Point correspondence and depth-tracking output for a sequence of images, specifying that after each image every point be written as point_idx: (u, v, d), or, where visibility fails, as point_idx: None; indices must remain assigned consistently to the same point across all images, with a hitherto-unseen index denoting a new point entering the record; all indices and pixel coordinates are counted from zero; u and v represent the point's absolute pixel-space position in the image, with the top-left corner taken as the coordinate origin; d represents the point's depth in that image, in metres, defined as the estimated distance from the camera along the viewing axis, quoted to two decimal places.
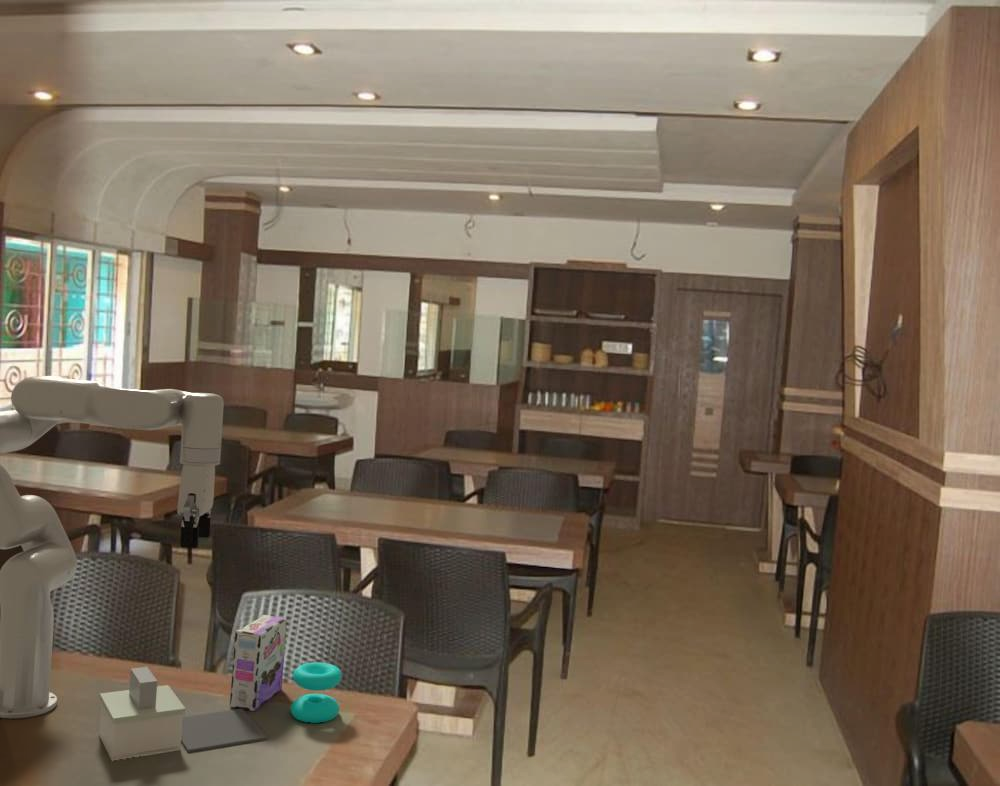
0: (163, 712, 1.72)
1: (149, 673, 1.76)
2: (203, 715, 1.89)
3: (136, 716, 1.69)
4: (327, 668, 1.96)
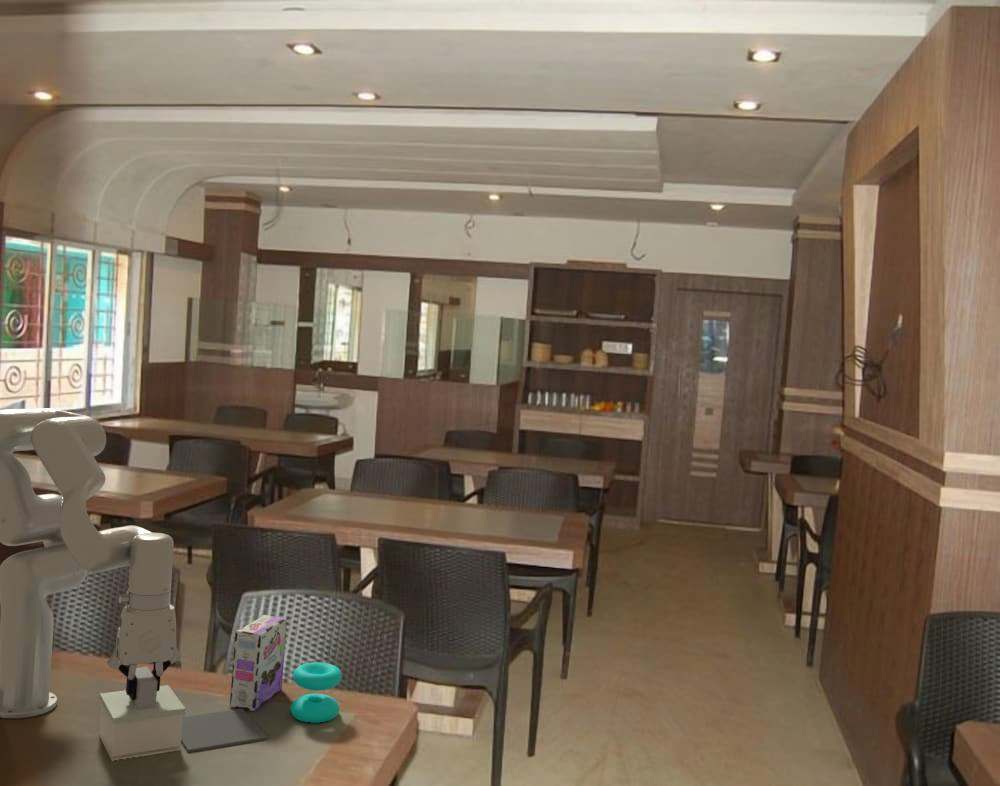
0: (163, 712, 1.72)
1: (149, 673, 1.76)
2: (203, 715, 1.89)
3: (136, 716, 1.69)
4: (327, 668, 1.96)
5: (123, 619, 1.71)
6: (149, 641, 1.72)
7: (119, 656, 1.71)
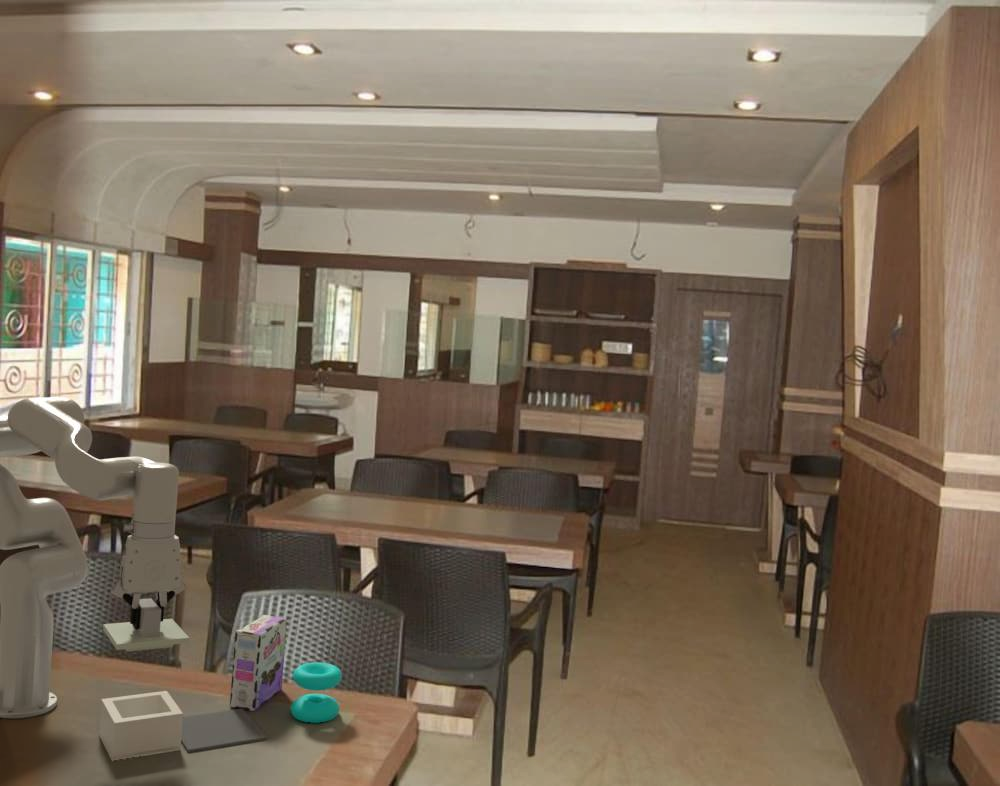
0: (167, 640, 1.71)
1: (153, 603, 1.76)
2: (203, 715, 1.89)
3: (140, 643, 1.68)
4: (327, 668, 1.96)
5: (127, 547, 1.70)
6: (153, 570, 1.72)
7: (123, 584, 1.70)
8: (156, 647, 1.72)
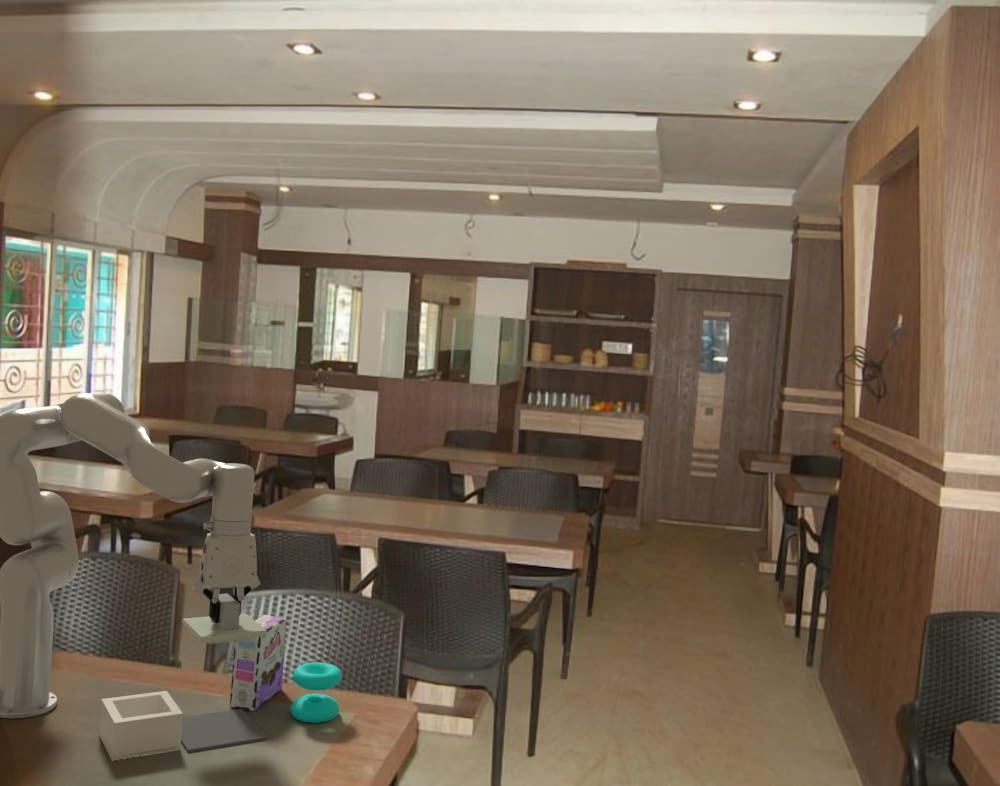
0: (246, 633, 1.79)
1: (230, 598, 1.84)
2: (203, 715, 1.89)
3: (222, 636, 1.76)
4: (327, 668, 1.96)
5: (208, 544, 1.78)
6: (232, 566, 1.80)
7: (204, 579, 1.78)
8: (235, 640, 1.80)
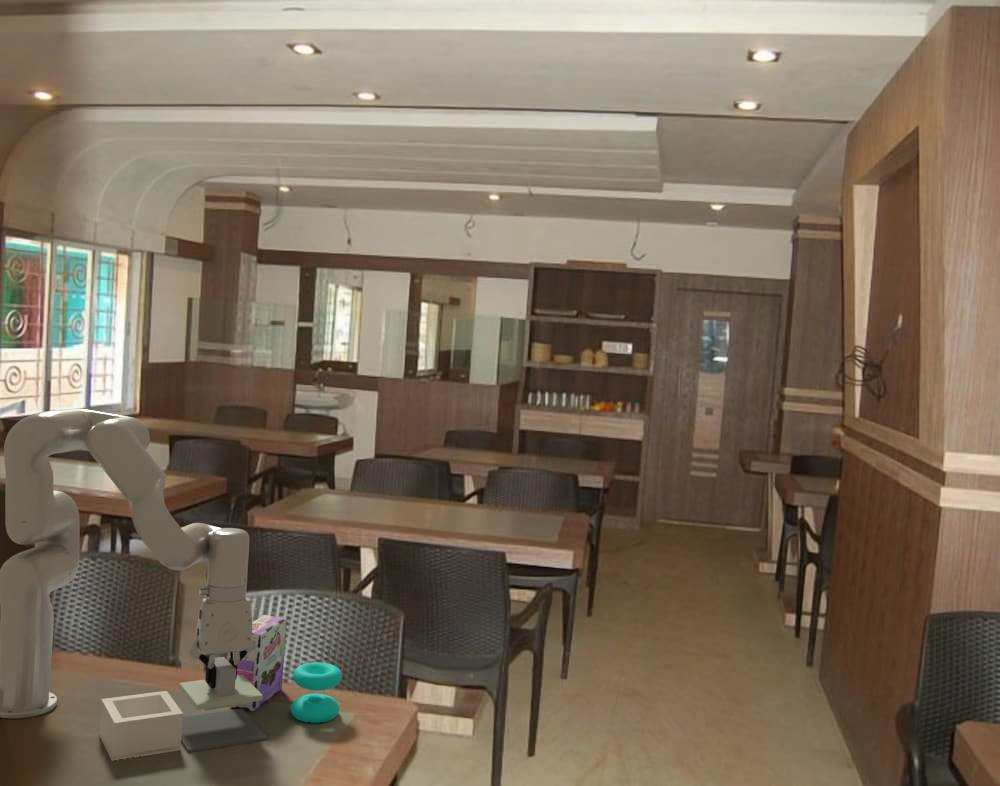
0: (242, 699, 1.79)
1: (226, 662, 1.84)
2: (203, 715, 1.89)
3: (218, 702, 1.77)
4: (327, 668, 1.96)
5: (203, 610, 1.79)
6: (227, 632, 1.80)
7: (200, 646, 1.79)
8: (232, 705, 1.81)
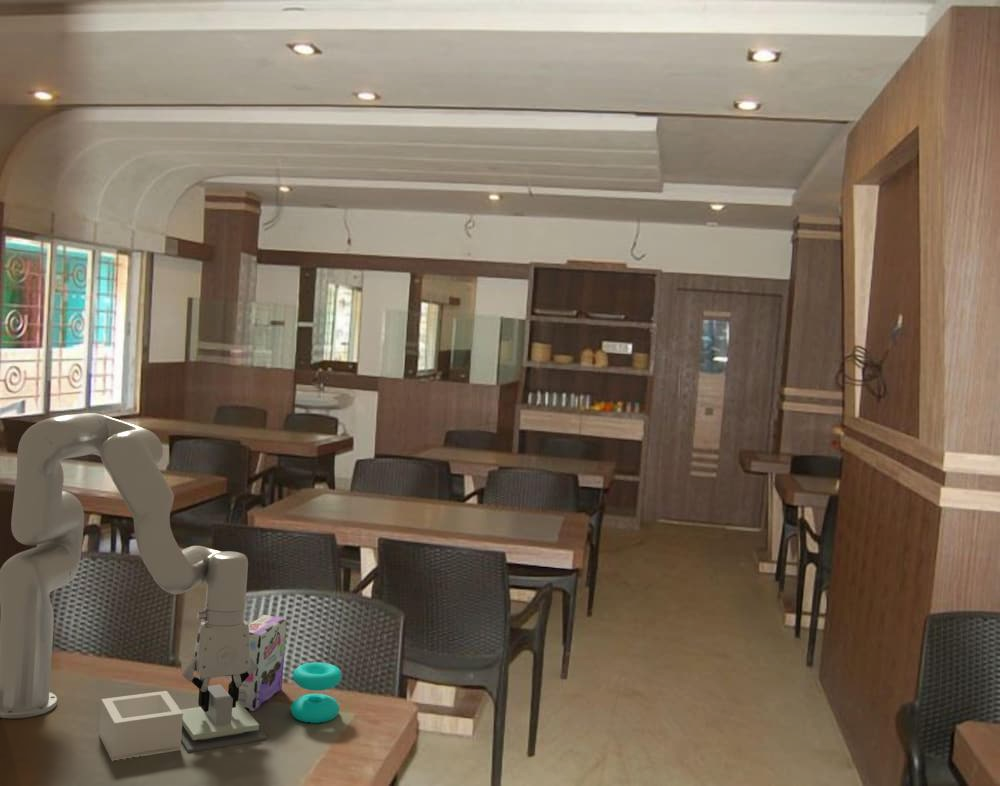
0: (239, 728, 1.80)
1: (223, 690, 1.84)
2: None
3: (214, 732, 1.77)
4: (327, 668, 1.96)
5: (201, 634, 1.79)
6: (225, 655, 1.81)
7: (198, 670, 1.79)
8: (228, 734, 1.81)
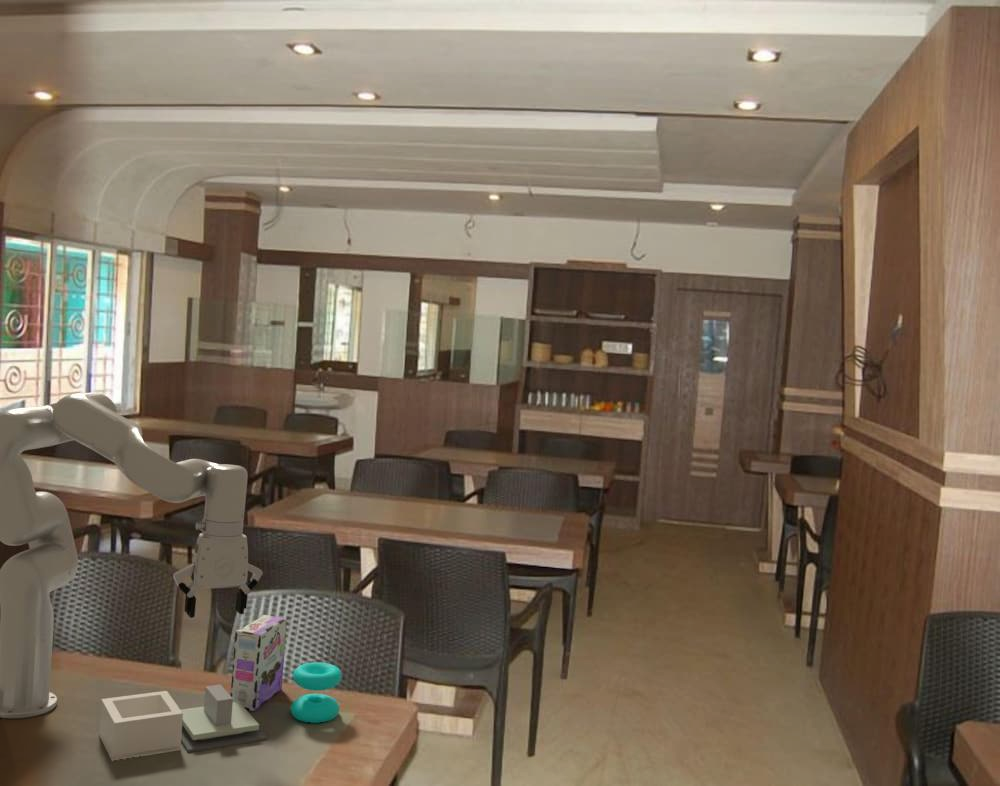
0: (239, 728, 1.80)
1: (223, 690, 1.84)
2: None
3: (214, 732, 1.77)
4: (327, 668, 1.96)
5: (199, 544, 1.79)
6: (223, 567, 1.81)
7: (195, 579, 1.79)
8: (228, 734, 1.81)
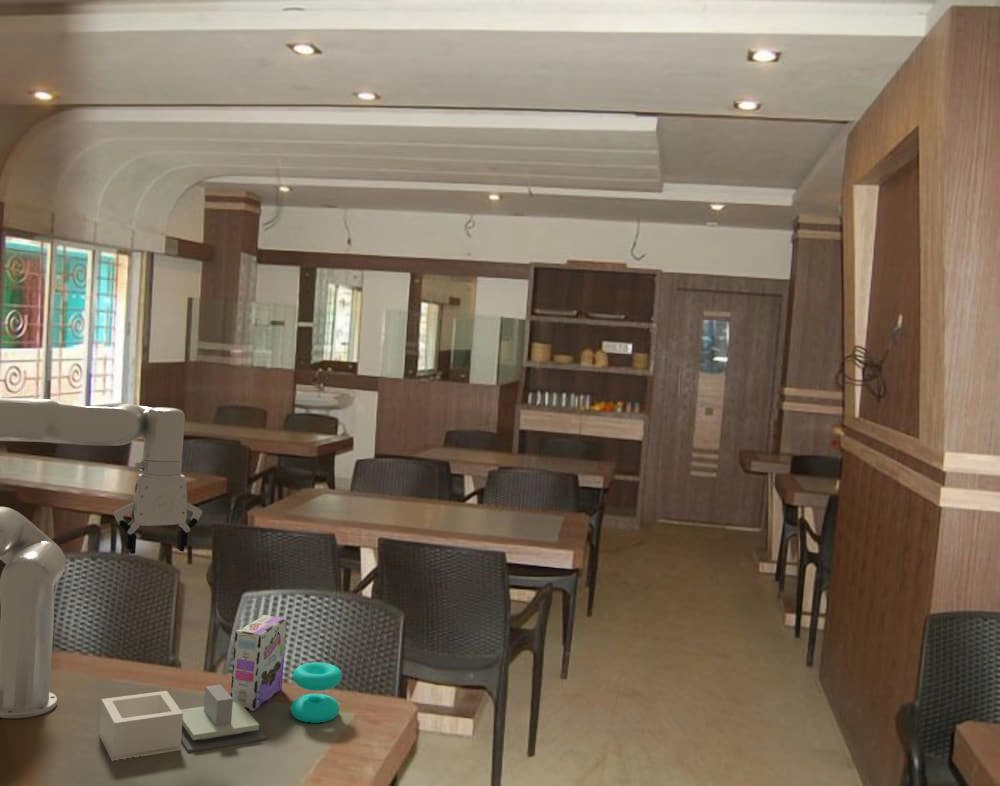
0: (239, 728, 1.80)
1: (223, 690, 1.84)
2: None
3: (214, 732, 1.77)
4: (327, 668, 1.96)
5: (138, 483, 1.87)
6: (162, 505, 1.88)
7: (135, 517, 1.87)
8: (228, 734, 1.81)
